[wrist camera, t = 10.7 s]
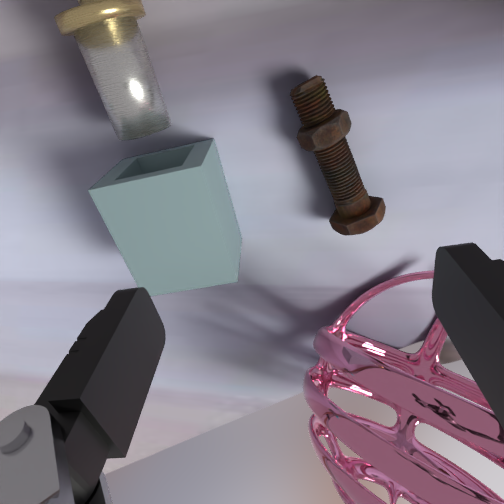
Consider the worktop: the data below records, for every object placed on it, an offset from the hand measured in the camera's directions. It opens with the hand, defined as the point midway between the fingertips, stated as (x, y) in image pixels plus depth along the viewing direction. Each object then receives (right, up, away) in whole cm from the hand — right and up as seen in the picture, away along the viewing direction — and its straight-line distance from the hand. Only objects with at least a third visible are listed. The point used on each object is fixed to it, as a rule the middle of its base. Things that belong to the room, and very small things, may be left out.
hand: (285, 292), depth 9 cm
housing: (-8, +7, +28) cm, 30 cm away
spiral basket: (+18, -9, +38) cm, 43 cm away
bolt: (+7, +12, +25) cm, 29 cm away
